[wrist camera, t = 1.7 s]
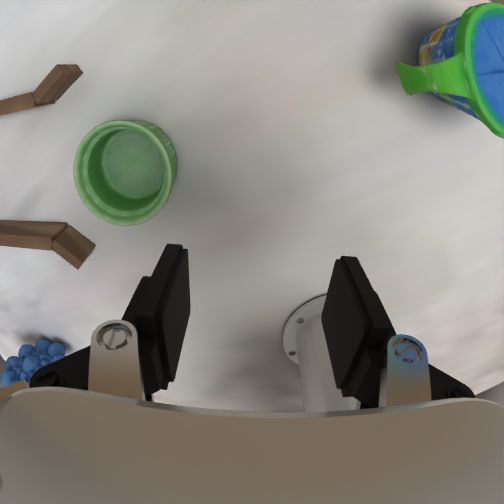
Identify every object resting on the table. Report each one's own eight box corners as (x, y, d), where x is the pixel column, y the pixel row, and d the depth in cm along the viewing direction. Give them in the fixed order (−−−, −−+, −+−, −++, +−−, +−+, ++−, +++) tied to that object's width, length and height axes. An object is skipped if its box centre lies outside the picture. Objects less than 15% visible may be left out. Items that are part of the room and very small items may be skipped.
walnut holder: (97, 252, 31) (83, 270, 28) (-5, 243, 30) (-20, 257, 27) (83, 63, 21) (63, 63, 18) (-27, 95, 21) (-47, 100, 17)
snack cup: (387, 126, 24) (448, 151, 15) (362, 16, 19) (415, -12, 10) (503, 114, 22) (569, 137, 13) (488, 23, 17) (554, 21, 8)
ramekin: (124, 221, 29) (107, 241, 26) (80, 145, 25) (56, 156, 21) (200, 182, 27) (191, 199, 24) (155, 96, 23) (138, 98, 20)
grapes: (34, 354, 41) (6, 406, 31) (18, 325, 38) (-16, 378, 28) (87, 364, 41) (61, 425, 31) (71, 334, 38) (38, 398, 27)
